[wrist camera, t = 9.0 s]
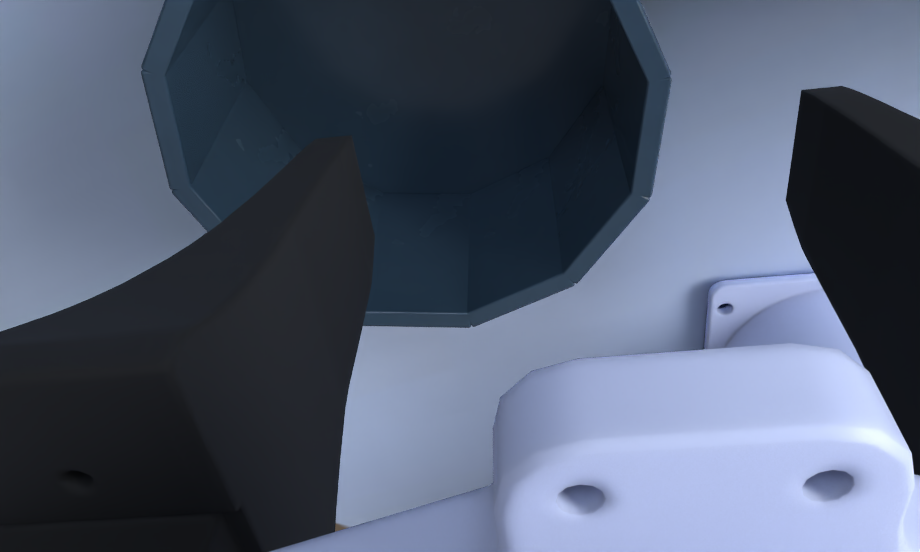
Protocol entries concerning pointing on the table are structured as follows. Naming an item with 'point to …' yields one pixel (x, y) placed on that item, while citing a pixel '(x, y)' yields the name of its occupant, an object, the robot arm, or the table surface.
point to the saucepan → (425, 131)
